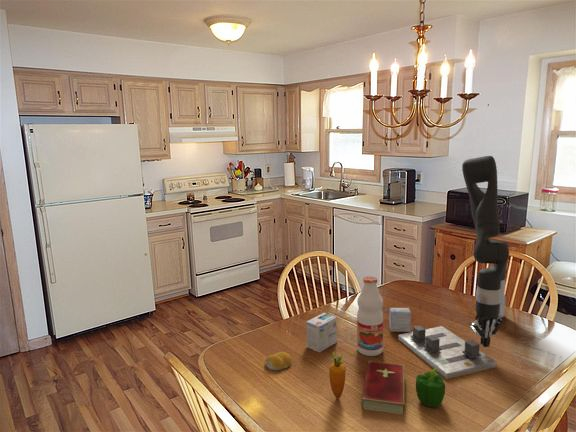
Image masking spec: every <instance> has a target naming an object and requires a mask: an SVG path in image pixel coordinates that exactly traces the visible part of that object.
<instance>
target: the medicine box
mask: <svg viewBox="0 0 576 432" xmlns="http://www.w3.org/2000/svg"><path fill="white" fill-rule="evenodd" d="M388 312H389V314H388V315H389V316H388V319H389V320H388V324H389V325H388V327H389V331H390V332H391V333H392V332H393V333H401V332H402V333H404V332H405V333H410V332H411V319H412V315H411V314H412V312H411V310H410V308H409V307H389V311H388Z"/></svg>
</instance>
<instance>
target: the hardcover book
mask: <svg viewBox="0 0 576 432" xmlns="http://www.w3.org/2000/svg"><path fill="white" fill-rule="evenodd" d="M365 373H366V374H365V379H364V384H363V391H362V397H361V398H362V399H361V410H368V411H378V412H383V413H390V414H397V415H403V414H404V413H403V411H404V407H405V364H402V363H394V362H386V361H385V362H384V361H377V360H368V362H367V366H366V372H365Z"/></svg>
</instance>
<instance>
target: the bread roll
mask: <svg viewBox="0 0 576 432" xmlns="http://www.w3.org/2000/svg"><path fill="white" fill-rule="evenodd" d="M291 365H292V357H291V355H290V354H289V353H287V352H284V351H278V352H275V353H273V354H269V355H268V356H267V357H266V359H265V366H266V367H267V368H268V369H269V370H270V371H281V370H284V369H287V368H289V367H290V366H291Z"/></svg>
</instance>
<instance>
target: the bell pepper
mask: <svg viewBox="0 0 576 432" xmlns="http://www.w3.org/2000/svg"><path fill="white" fill-rule="evenodd" d="M436 372H437V369H435V368H434V369H433V368H432V369H431V371H426V372H424V373H423V374H417V376H416V379H415V393H416V395H417V399H418V400H419V402H420V403H421V404H422V405H424V406H428V407H430V408H432V409H434V408H438V407H440V406H441V404H442V403H443V401H444V398H445V394H446V384H445V381H444V380H443V376H442V375H441V374H437V373H436Z"/></svg>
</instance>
